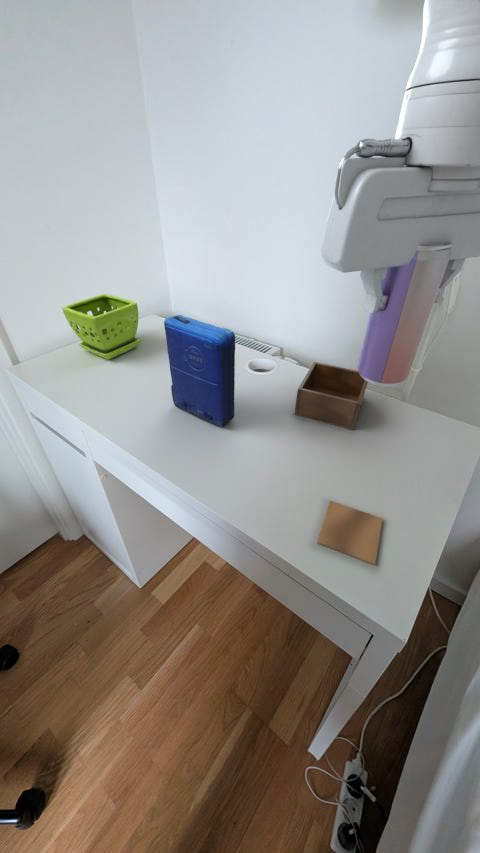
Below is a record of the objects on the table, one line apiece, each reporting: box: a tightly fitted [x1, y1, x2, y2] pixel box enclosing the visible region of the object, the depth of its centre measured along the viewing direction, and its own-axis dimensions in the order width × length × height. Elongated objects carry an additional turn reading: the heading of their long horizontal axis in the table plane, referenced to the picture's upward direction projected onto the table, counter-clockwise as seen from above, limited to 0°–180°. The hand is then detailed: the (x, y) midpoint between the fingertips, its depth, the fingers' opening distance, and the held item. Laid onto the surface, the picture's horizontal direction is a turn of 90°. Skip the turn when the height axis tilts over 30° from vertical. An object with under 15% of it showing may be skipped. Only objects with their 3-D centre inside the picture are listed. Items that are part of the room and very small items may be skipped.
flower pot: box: [61, 293, 141, 360], centre depth 91 cm, size 14×14×13 cm
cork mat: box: [316, 500, 383, 566], centre depth 50 cm, size 8×8×1 cm
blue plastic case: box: [163, 314, 236, 428], centre depth 66 cm, size 14×5×20 cm, turn 55°
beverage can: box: [357, 242, 452, 387], centre depth 37 cm, size 6×6×15 cm
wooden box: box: [294, 361, 369, 431], centre depth 72 cm, size 12×12×6 cm
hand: (401, 306), depth 37 cm, fingers closed on beverage can, 6 cm apart
